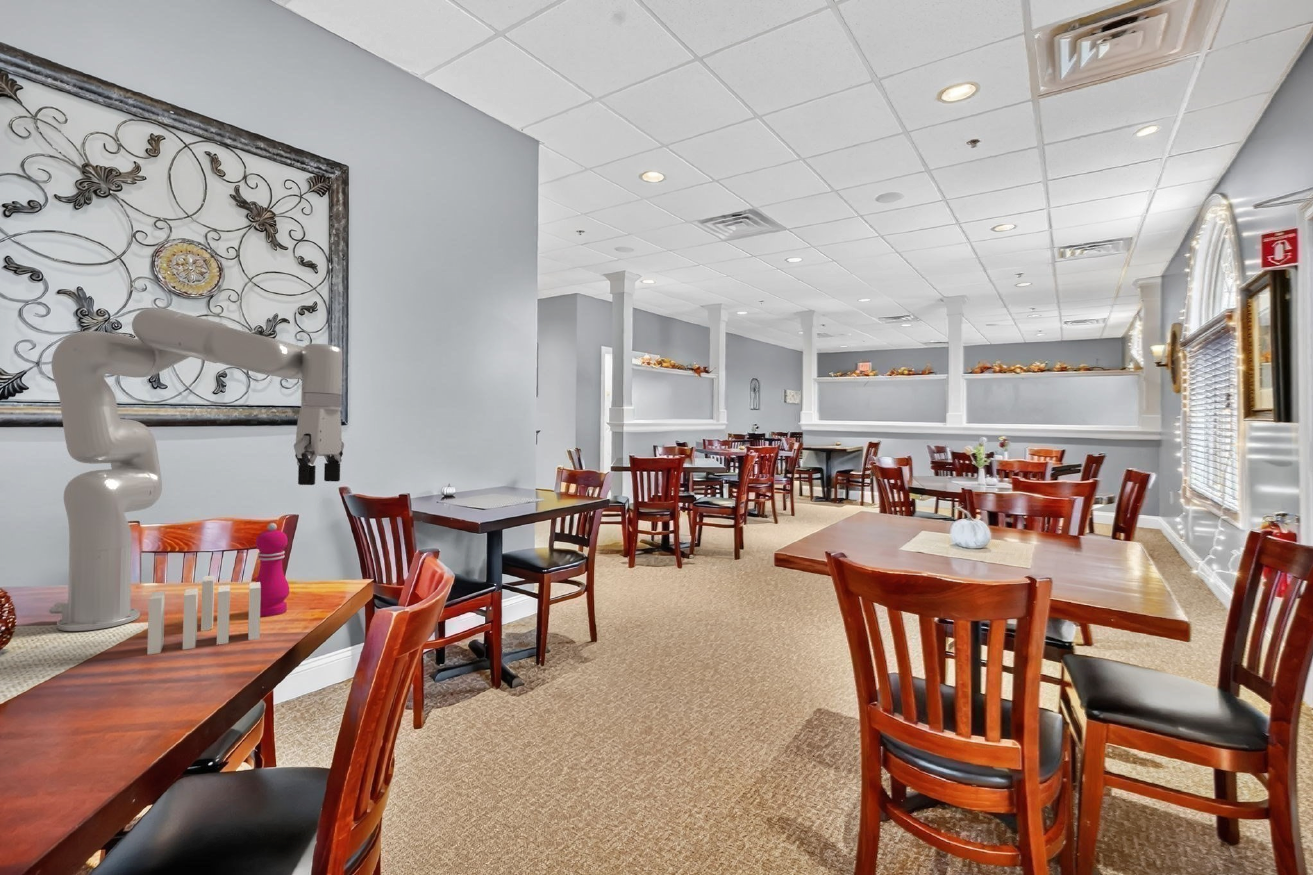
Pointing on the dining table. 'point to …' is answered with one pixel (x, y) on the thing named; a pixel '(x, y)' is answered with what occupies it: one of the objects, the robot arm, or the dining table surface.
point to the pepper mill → (272, 571)
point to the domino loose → (207, 603)
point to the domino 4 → (254, 611)
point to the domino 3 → (223, 614)
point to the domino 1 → (156, 622)
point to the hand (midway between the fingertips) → (319, 482)
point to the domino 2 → (190, 618)
